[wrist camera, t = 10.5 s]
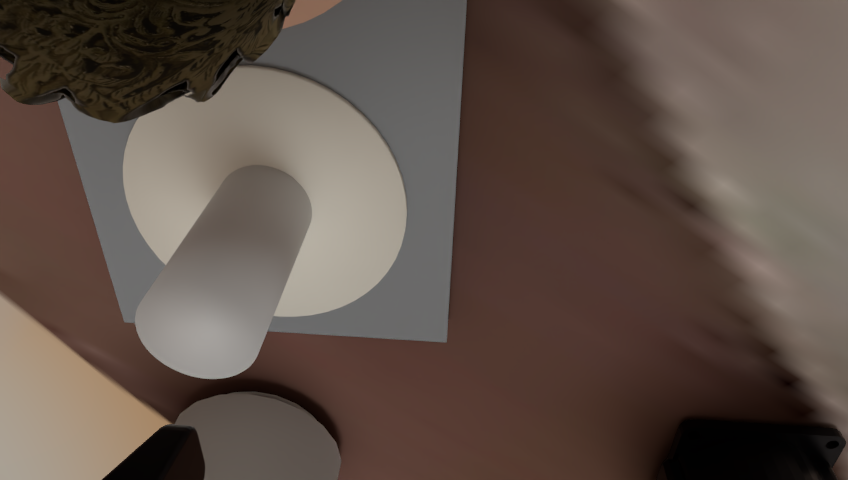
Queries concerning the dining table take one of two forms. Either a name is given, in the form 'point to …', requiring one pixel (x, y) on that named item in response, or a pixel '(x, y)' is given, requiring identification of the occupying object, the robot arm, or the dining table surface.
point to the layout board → (396, 97)
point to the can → (261, 439)
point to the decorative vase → (130, 50)
